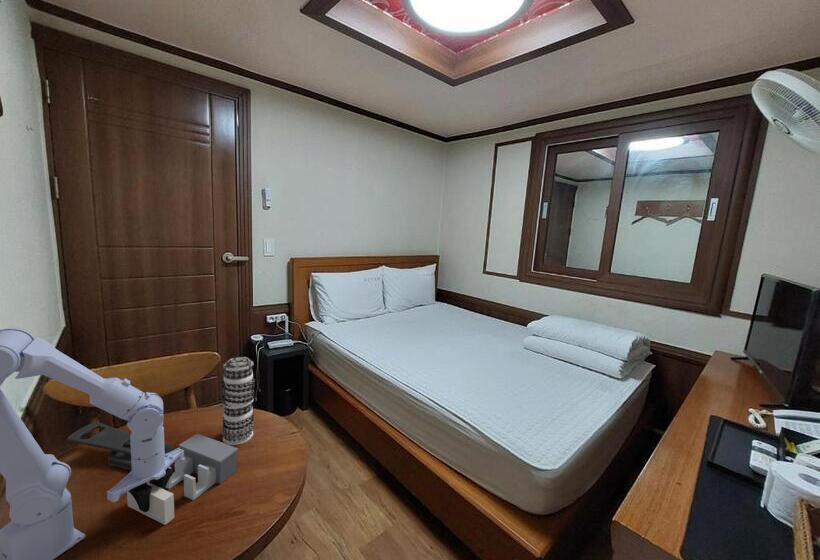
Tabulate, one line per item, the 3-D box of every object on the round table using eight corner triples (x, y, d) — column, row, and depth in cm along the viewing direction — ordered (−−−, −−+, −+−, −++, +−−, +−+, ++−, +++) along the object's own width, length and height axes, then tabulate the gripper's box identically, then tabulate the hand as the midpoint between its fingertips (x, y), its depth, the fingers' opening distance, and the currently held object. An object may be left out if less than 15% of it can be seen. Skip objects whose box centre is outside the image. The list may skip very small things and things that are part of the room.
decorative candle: (213, 443, 97) (213, 364, 93) (234, 425, 106) (234, 352, 103) (242, 448, 96) (243, 368, 92) (260, 429, 105) (261, 356, 102)
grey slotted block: (198, 502, 77) (198, 477, 76) (155, 483, 82) (154, 459, 81) (237, 470, 88) (237, 448, 87) (197, 454, 92) (197, 433, 91)
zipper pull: (96, 419, 94) (179, 430, 92) (97, 440, 95) (179, 451, 93) (60, 439, 85) (151, 451, 83) (62, 462, 86) (152, 475, 84)
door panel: (174, 517, 73) (173, 493, 72) (165, 525, 71) (164, 500, 70) (137, 499, 77) (136, 476, 76) (127, 506, 75) (126, 482, 74)
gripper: (122, 479, 63) (125, 539, 66) (193, 437, 77) (193, 488, 79) (98, 468, 66) (102, 527, 68) (171, 428, 79) (173, 478, 81)
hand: (150, 505), depth 74 cm, fingers closed on door panel, 2 cm apart
